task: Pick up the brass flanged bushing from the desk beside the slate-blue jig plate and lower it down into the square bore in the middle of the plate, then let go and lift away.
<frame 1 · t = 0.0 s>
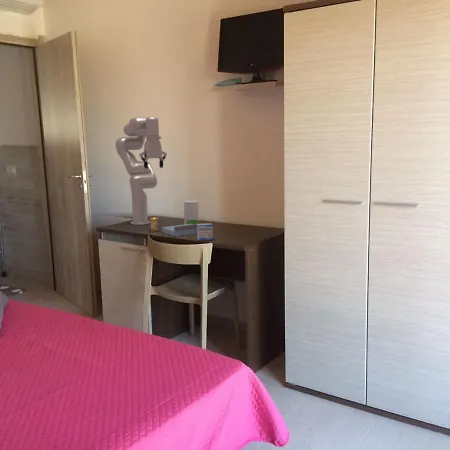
hand: (153, 168, 308), 37 cm above the table, tool pointing down, fingers open, 9 cm apart
jig: (183, 232, 302), on the table
medicine box: (205, 240, 281), on the table
skincare box: (191, 226, 322), on the table
bushing: (154, 231, 307), on the table
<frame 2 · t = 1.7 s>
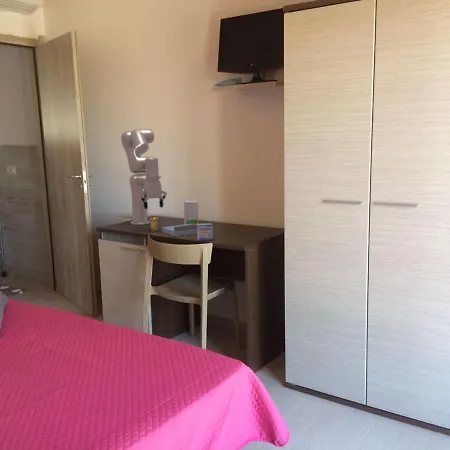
hand: (153, 207, 304), 14 cm above the table, tool pointing down, fingers open, 9 cm apart
nothing on the table moved.
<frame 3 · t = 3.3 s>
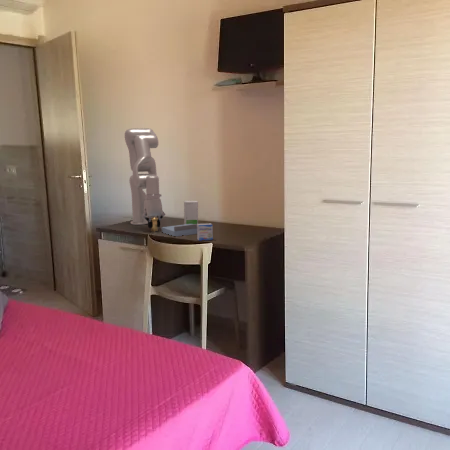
hand: (154, 227, 307), 2 cm above the table, tool pointing down, fingers closed on bushing, 4 cm apart
bushing: (154, 231, 307), on the table, touching gripper
everything else where it was.
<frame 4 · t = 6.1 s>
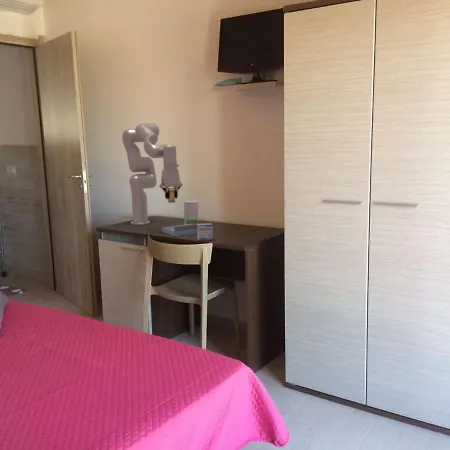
hand: (171, 198, 300), 20 cm above the table, tool pointing down, fingers closed on bushing, 4 cm apart
bushing: (171, 202, 300), point 18 cm above the table, touching gripper
everything else where it was.
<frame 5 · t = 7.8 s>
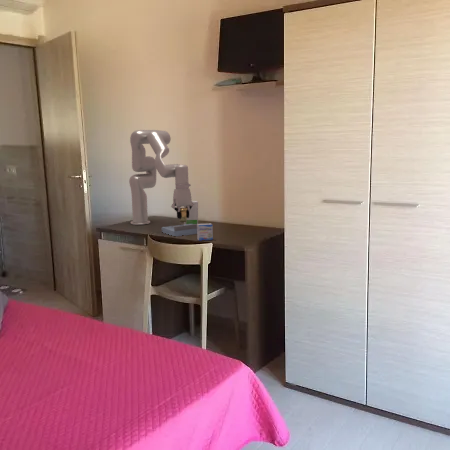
hand: (183, 217, 300), 9 cm above the table, tool pointing down, fingers closed on bushing, 4 cm apart
bushing: (183, 221, 300), point 6 cm above the table, touching gripper
everything else where it was.
when the fingers open (4 cm above the table, at t = 9.2 s): bushing drops 1 cm, resting in jig.
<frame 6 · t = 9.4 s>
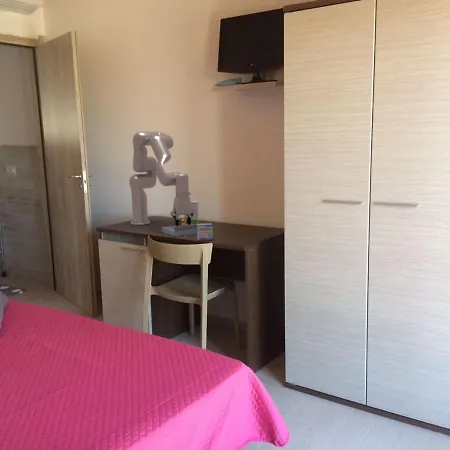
hand: (183, 225, 301), 4 cm above the table, tool pointing down, fingers open, 7 cm apart
bushing: (183, 232, 302), resting in jig
everything else where it was.
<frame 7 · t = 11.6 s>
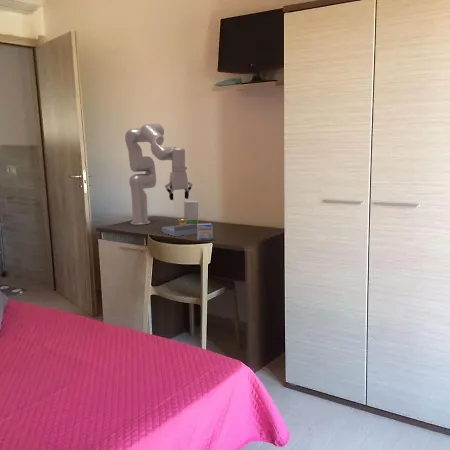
hand: (179, 199, 300), 19 cm above the table, tool pointing down, fingers open, 9 cm apart
nothing on the table moved.
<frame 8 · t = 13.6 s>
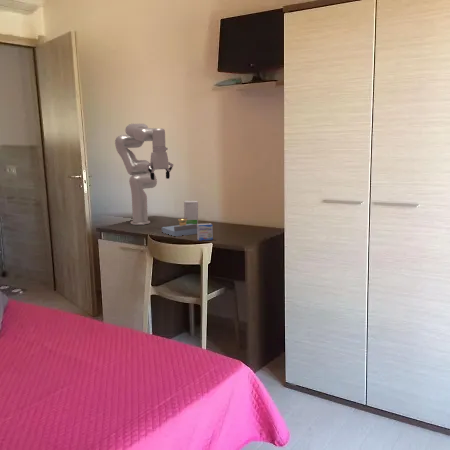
hand: (160, 179, 306), 30 cm above the table, tool pointing down, fingers open, 9 cm apart
nothing on the table moved.
at the end: bushing 0.3 cm off-centre on the jig, point 0.0 cm above the jig's base; bushing tilted 0°; the gripper is holding nothing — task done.
